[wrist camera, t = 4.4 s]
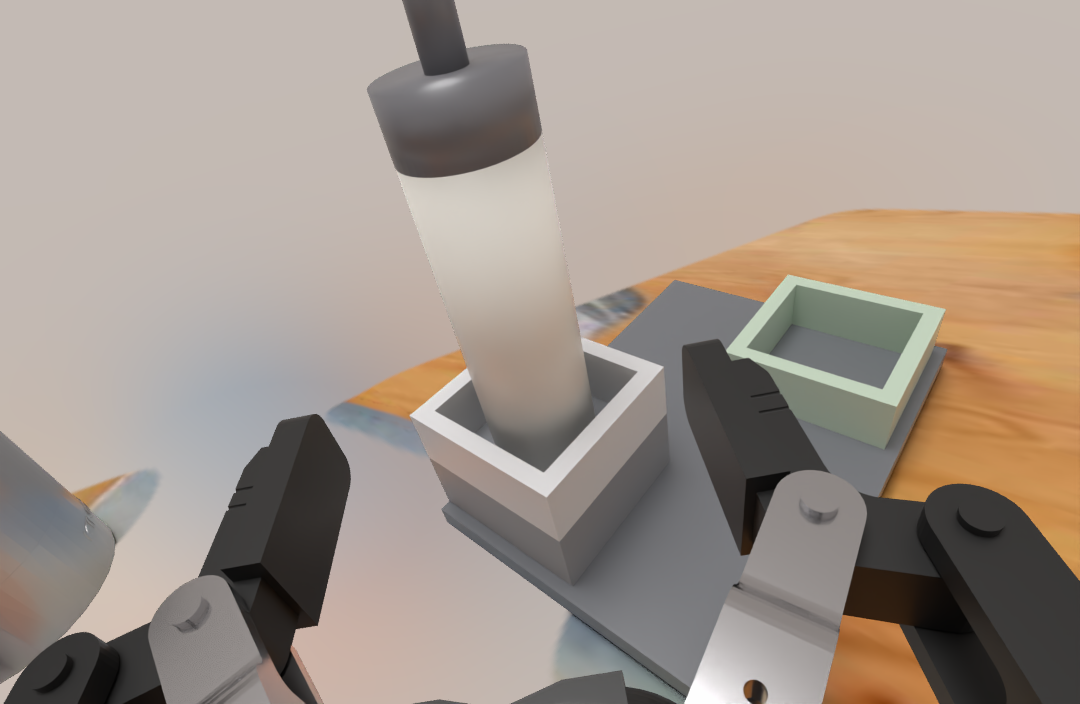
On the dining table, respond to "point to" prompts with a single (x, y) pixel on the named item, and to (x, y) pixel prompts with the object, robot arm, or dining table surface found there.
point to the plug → (489, 228)
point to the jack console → (680, 455)
